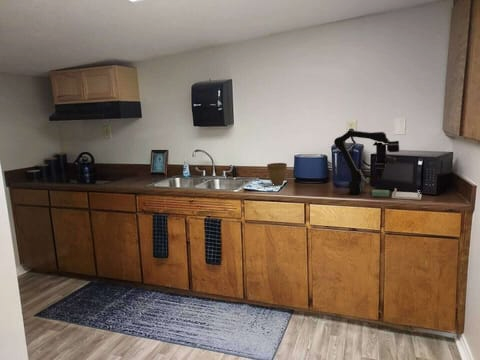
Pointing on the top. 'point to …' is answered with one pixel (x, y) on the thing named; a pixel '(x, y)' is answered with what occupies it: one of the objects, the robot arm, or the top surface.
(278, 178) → the plant pot
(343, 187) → the top surface
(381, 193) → the circuit board
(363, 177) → the mechanical component
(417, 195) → the chassis plate
